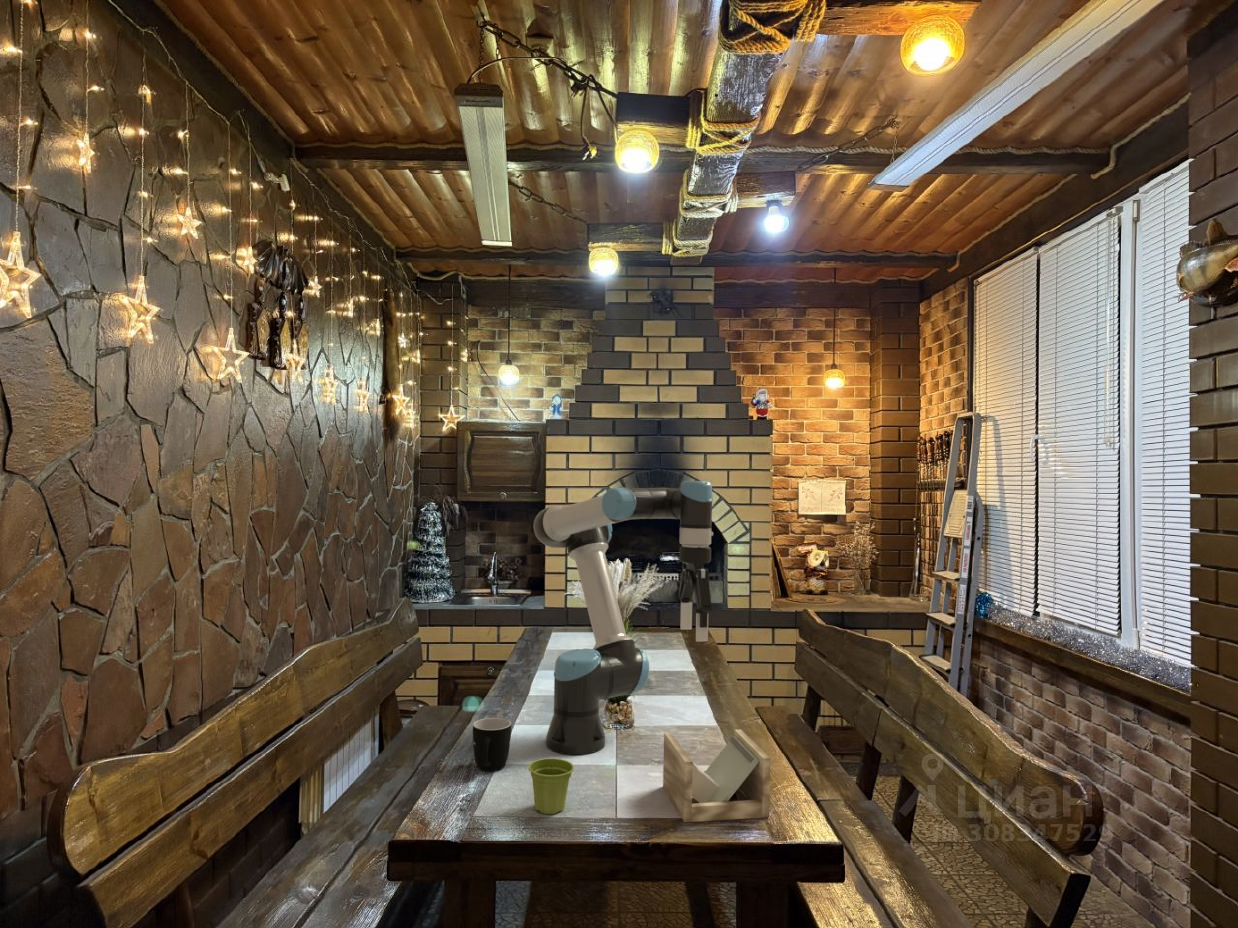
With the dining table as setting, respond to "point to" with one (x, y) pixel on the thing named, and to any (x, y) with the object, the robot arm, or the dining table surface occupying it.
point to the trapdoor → (730, 769)
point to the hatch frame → (680, 793)
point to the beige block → (702, 785)
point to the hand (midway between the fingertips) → (693, 635)
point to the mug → (491, 743)
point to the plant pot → (550, 783)
